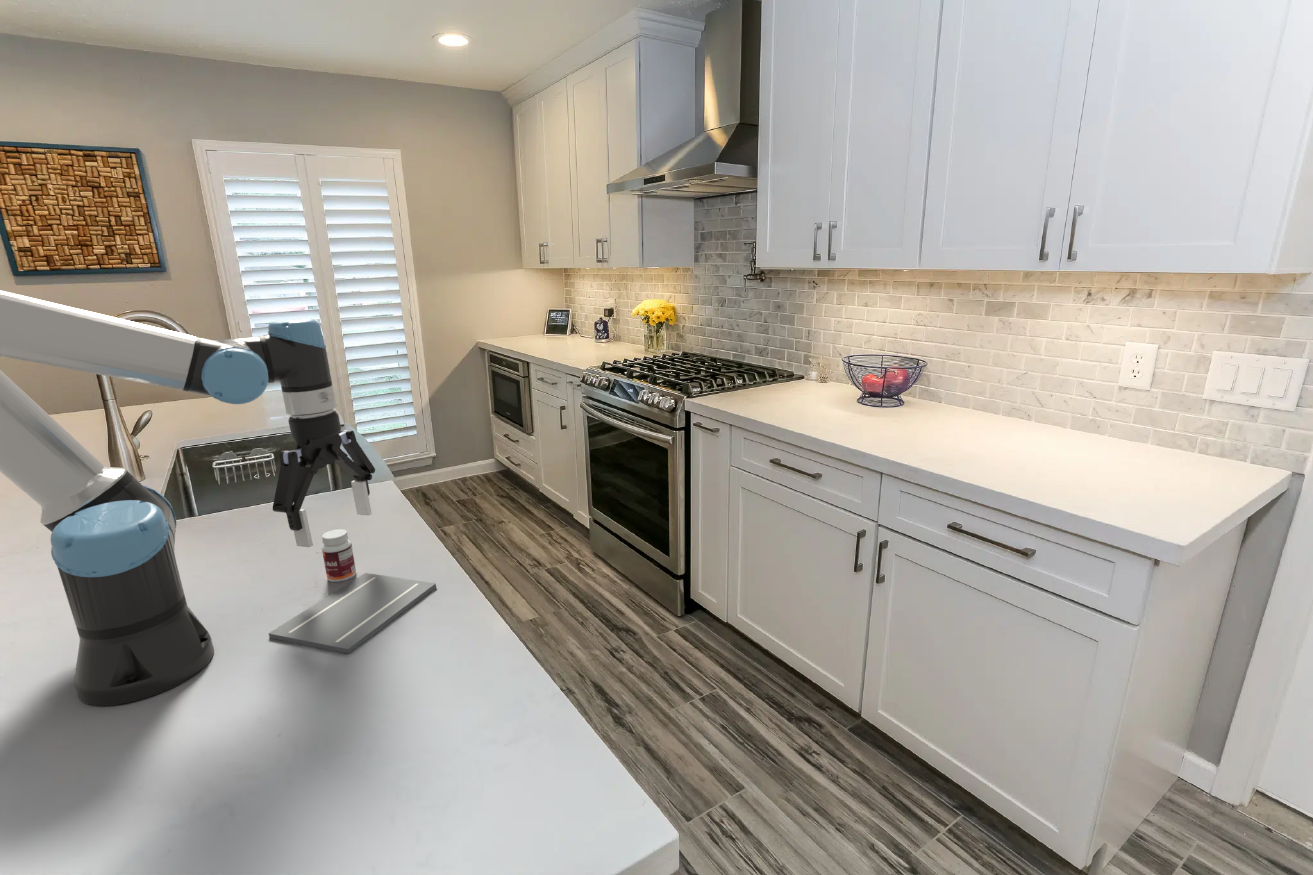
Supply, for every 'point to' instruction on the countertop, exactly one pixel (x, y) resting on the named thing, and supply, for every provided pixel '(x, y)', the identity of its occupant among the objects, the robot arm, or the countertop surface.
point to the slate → (353, 612)
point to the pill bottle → (338, 556)
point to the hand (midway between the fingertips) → (336, 529)
